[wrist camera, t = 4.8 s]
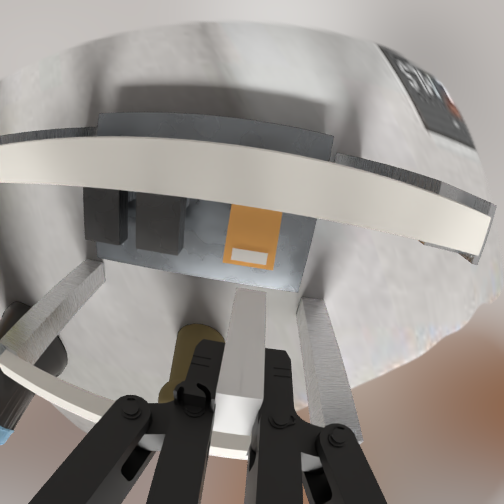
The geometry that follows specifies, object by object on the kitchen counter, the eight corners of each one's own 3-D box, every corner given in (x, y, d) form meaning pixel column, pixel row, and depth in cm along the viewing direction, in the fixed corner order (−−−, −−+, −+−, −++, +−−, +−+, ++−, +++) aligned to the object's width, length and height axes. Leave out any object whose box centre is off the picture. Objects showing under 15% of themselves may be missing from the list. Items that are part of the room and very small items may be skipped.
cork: (176, 354, 33) (153, 422, 23) (177, 319, 30) (147, 390, 20) (222, 363, 33) (210, 435, 23) (228, 329, 31) (214, 406, 20)
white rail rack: (88, 277, 29) (3, 370, 13) (86, 116, 21) (-52, 128, 6) (317, 318, 29) (347, 456, 14) (363, 146, 22) (503, 175, 6)
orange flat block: (224, 260, 20) (222, 262, 19) (239, 168, 20) (238, 162, 18) (271, 267, 20) (273, 270, 19) (285, 175, 20) (288, 170, 18)
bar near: (-39, 176, 8) (-55, 182, 7) (-39, 152, 7) (-56, 157, 6) (457, 240, 9) (478, 255, 7) (467, 205, 8) (491, 217, 7)
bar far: (12, 362, 14) (3, 373, 13) (5, 349, 13) (-4, 360, 12) (338, 442, 15) (341, 460, 13) (347, 433, 14) (351, 451, 13)
